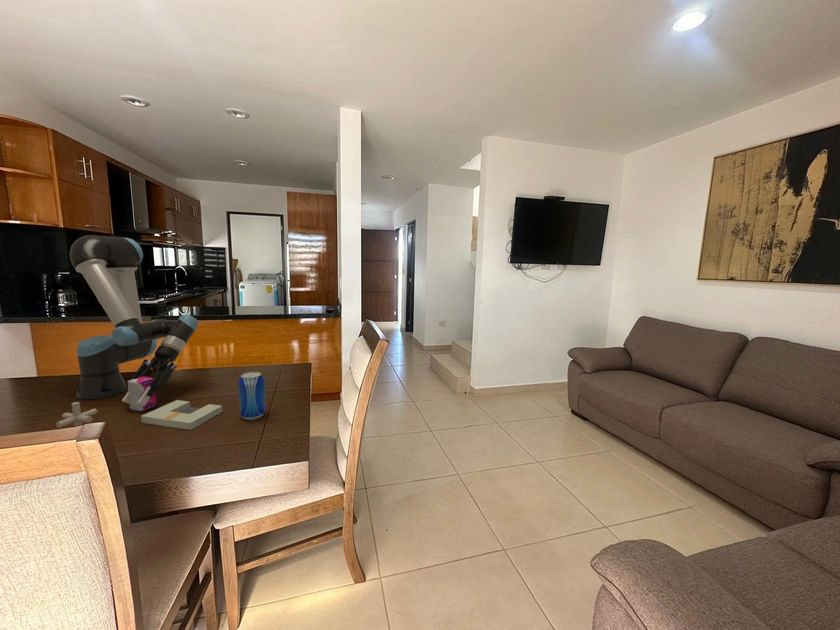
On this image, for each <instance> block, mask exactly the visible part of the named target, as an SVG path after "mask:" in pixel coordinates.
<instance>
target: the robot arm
mask: <svg viewBox="0 0 840 630" xmlns="http://www.w3.org/2000/svg"><path fill="white" fill-rule="evenodd" d="M69 259H70V262H71V266H73V269H74V270H75V272H77V273H79V274H81V275H82V276H83V278H84V279H85V281H86V282H87V284H88V286H89V288H90V289H91V291H92V292H93V294H94V295H95V297H96V299H97V301H98V303H100V306H102V309H103V310H104V312H105V313H106V315H107V316H108V318H109V320H110V321H111V323H112V325H113V326H114V327H115V328H114V329H113V330H112V333H111V334H104V335H96V336H91V337H88V338H85V339H82V340H81V341H79V342H78V343H77V346H76V355H77V358H78V365H79V373H80V380H79V382H78V386H77V389H76V398H77V399H78V398H79V400H82V399H84V400H85V401H89V400H90V399H93V400H100V399H105V398H109V397H113V396H117V395H119V394H122V393H124V392H125V391H126V390H127V389H128V384H127V382H126V381H125V379H124V377H123V376H122V374H121V372H120V366H119V365H121V364H124V363H128V362H132V361H135V360H136V361H137V360H141V359H143V358H145V359H144V360H143V361H142V363H141V365H140V366H139V368H138V369H137V370H136V371H135V373H134V374H133V376H132V377H130V379H129V380H133V379H136V378H140V377H149V378H150V376H151V375H153V374H154V373H155V374H154V377H153V378H154V379H153V382H152V384H151V385H150V386H151V387H150V386H148V388H147V389H146V391H145V392H144V394H143V395H142V397H141V398H140V400H139V401H138V403H139V404H141V405H143V406H145V405H146V403H147V402H148V400H149V399H150V397H152V396H153V394H154V393H155V394H156V392H157V390H158V389H163V388H164V387H165V385H166V384H167V382H168V380H169V379H170V377H171V375H172V374H173V371H175V369H176V368H177V367H178V365H177V364H176V363H174V362H175V361H176V360H177V358H179V355H180V353H181V352H182V350H183V349H184V347H186V345H187V344H188V341H189V340H190V339H191V337H192V336H193V334H194V333H195V331H197V328H198V326H199V321H198V319H197V318H195V317H194V316H191V315H189V314H182V315H180V316H179V317H178V319H163V318H160V319H153V320H150V321H149V322H143V320H142V318H143V317H142V313H141V306H140V300H139V295H138V286H137V281H136V276H135V275H136V274H135V271H137V270H138V268H139V267H138V265H139V264H140V263H142V261H143V259H144V253H143V250H142V247H141V245H140V244H139V242H138V243H137V242H136V241H135V240H134V239H132V238H129V237H123V236H108V235H107V236H105V235H93V234H92V235H91V234H89V235H84V236H83V235H82V237H78V238H77V239H76V240H74V242H73V243H72V244H71V247H70V250H69ZM158 339H163V340H162V341H161V343H160V345H158V344H157V340H158ZM157 345H158V348H157ZM156 348H157V349H156ZM153 353H154V357H152V358H151V359H146V357H149V356H151V355H153ZM84 400H83V401H84ZM90 401H91V400H90ZM121 401H122V402H124V403H126V404H128V405H130V401H129V391H128V390H127V391H126V394H125V396H124V397H123V398H122V400H121Z"/></svg>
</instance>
